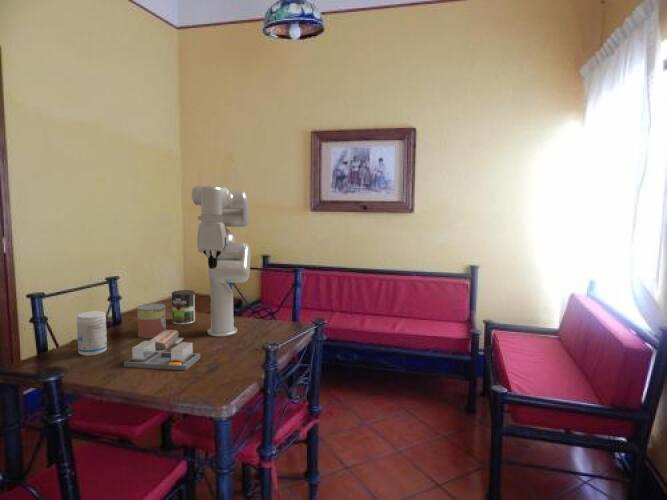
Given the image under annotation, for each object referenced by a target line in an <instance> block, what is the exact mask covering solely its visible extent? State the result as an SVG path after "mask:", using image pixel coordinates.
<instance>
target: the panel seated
mask: <svg viewBox="0 0 667 500" xmlns="http://www.w3.org/2000/svg"><path fill="white" fill-rule="evenodd" d="M131 348H132V349H131V351H132V352H131V353H132V357H133V362H146V361H148V360H149V359H151V358H152V357H154V356H155V355H156V353H155V351H156V350H155V341H150V340H144V341H141V342H140V343H138V344H137V345H135V346H133V347H131Z"/></svg>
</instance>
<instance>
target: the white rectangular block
mask: <svg viewBox="0 0 667 500" xmlns="http://www.w3.org/2000/svg"><path fill="white" fill-rule="evenodd" d="M193 345H194V344H193V342H186V341H185V342H184V341H181V342H180V343H177V345H175V346H174V347H173V348H170V352H171V362H180V363H182V364H181V365H184V364H186V363H187V362H188V361H189V360H190V359H192V358H193V352H194V348H193Z"/></svg>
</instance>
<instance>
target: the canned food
mask: <svg viewBox="0 0 667 500" xmlns="http://www.w3.org/2000/svg"><path fill="white" fill-rule="evenodd" d="M136 308H137V310H136V312H137V316H136V317H137V336H138V337H139V338H145V339H146V338H147V339H153V338H154V337H155V336H157V335H158V334H159V333H161V332H162V331H164V330H167V320H166V304H165V303H156V302H154V303H145V304H141V305H140V304H139V305H138V306H136Z"/></svg>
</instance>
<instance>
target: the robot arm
mask: <svg viewBox="0 0 667 500" xmlns="http://www.w3.org/2000/svg"><path fill="white" fill-rule="evenodd" d="M191 200H192V203H193V204H194V205H195V206H198V207H200V213H201V214H200V215H198V217H197V219H198V220H197V221H199V220H200V222H199V223H198V229H197V237H196V240H197V241H196V245H197V249H198V253H201V254H204V255H205V256H206V258H207V264H208V266H207V275H208V281H209V290H210V292H209V293H210V295H209V296H210V328H208V329H207V333H206V334H208V335H209V336H210V337H211V336H212V337H228V336H232V335H235V334H237V332H238V328H237V327H235V326H234V325H235V324H234V322H235V318H234V291H233V290H232V288H231V287H230V285H229V284H230V283H232V284H233V283H246V282H247V281H248V280H249V278H250V273H251V260H252V259H251V258H252V257H251V256H252V255H251V254H252V253H251V247H250V245H249V244H248V243H246V242H236V237H235V235H234V234H233V232H232V231H231V230H230V229H229V228H243V227H244V228H245V227H248V226H249V224H250V222H251V218H250V217H251V216H250V215H251V213H250V206H249V199H248V196H247V193H246V192H245V191H244V190H230V189H229V188H227V186H223V185H195V186H193V188H192V190H191Z"/></svg>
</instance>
